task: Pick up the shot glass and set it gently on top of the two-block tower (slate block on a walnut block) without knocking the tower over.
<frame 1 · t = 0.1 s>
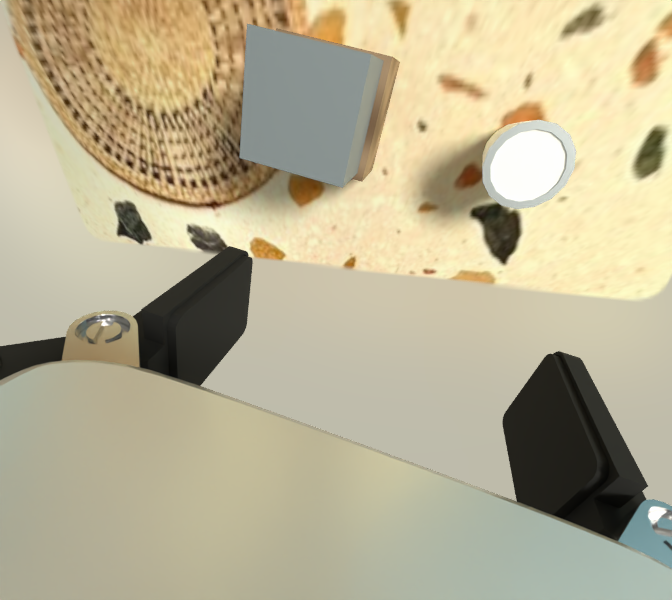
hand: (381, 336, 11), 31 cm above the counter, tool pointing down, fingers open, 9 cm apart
walnut base block: (338, 107, 37), on the counter, touching slate top block
shot glass: (512, 154, 35), on the counter
slate top block: (321, 108, 32), point 6 cm above the counter, touching walnut base block
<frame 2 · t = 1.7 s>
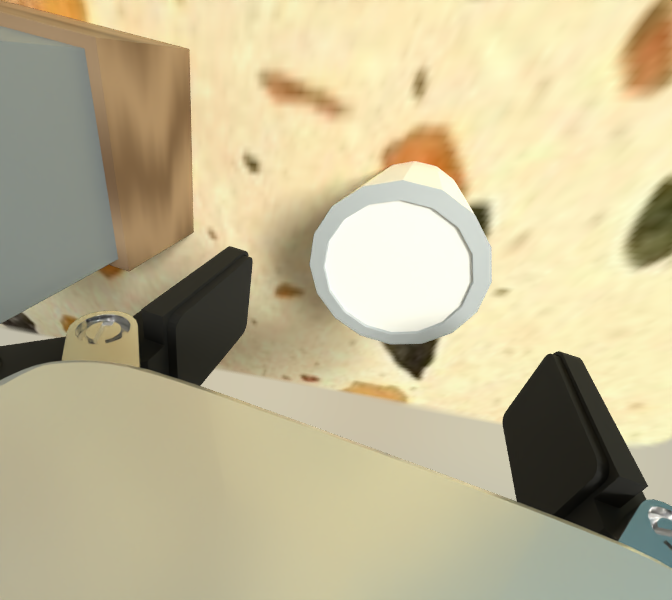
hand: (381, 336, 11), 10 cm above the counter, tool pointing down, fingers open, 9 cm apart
walnut base block: (117, 130, 21), on the counter, touching slate top block
shot glass: (409, 215, 19), on the counter
slate top block: (16, 143, 16), point 6 cm above the counter, touching walnut base block
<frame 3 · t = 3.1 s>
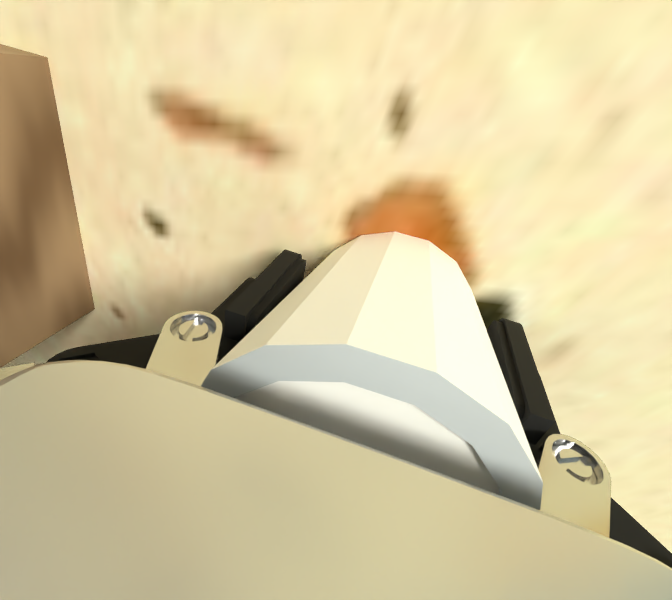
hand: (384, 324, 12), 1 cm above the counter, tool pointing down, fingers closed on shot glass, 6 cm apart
shot glass: (389, 304, 13), on the counter, touching gripper
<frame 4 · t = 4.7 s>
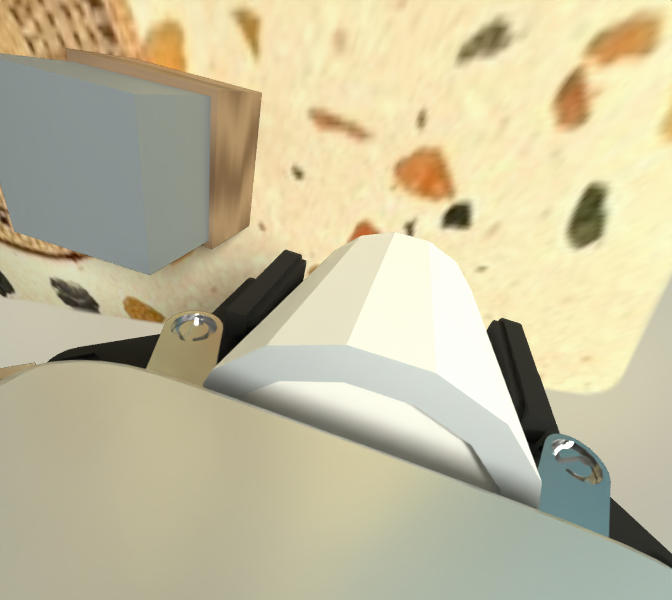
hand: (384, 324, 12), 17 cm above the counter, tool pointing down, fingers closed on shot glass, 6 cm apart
walnut base block: (198, 148, 28), on the counter, touching slate top block
shot glass: (389, 305, 13), point 15 cm above the counter, touching gripper
slate top block: (147, 158, 23), point 6 cm above the counter, touching walnut base block
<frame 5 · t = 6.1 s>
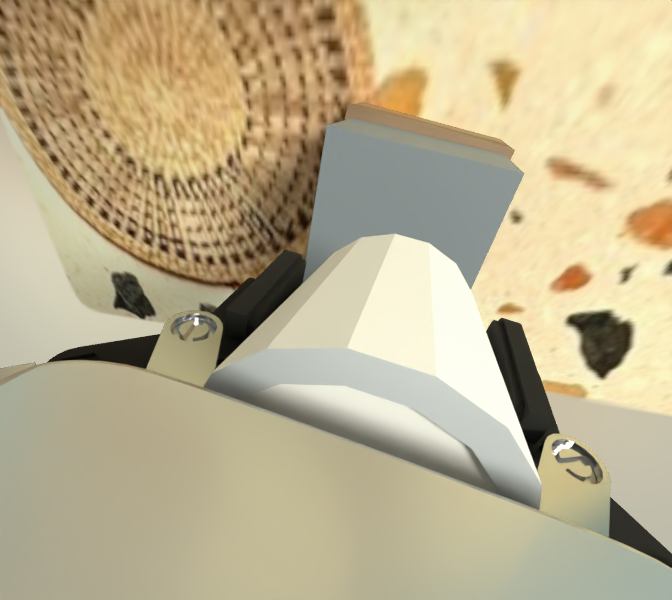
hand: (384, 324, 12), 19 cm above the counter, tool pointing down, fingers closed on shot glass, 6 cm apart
walnut base block: (409, 188, 28), on the counter
shot glass: (389, 306, 13), point 18 cm above the counter, touching gripper
slate top block: (404, 209, 23), point 6 cm above the counter
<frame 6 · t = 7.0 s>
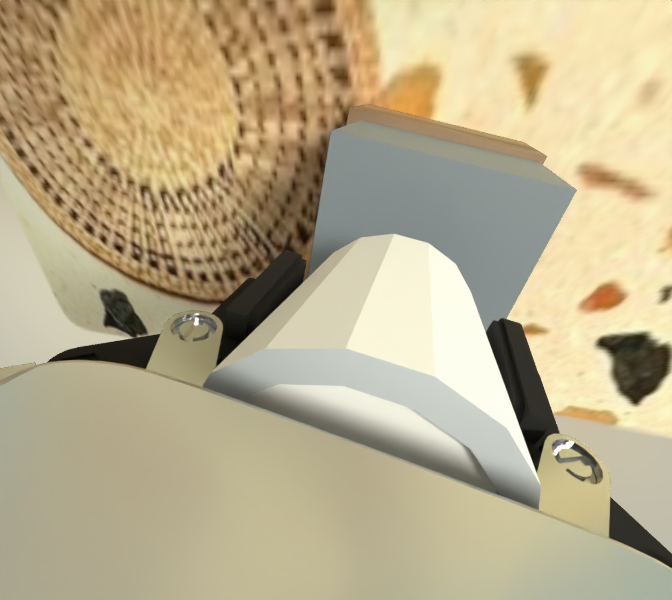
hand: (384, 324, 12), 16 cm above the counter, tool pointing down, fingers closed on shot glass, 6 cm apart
walnut base block: (419, 198, 25), on the counter, touching slate top block
shot glass: (389, 306, 13), point 15 cm above the counter, touching gripper
slate top block: (419, 224, 20), point 6 cm above the counter, touching walnut base block
when the fingers open (14 cm above the counter, at t = 7.9 s): shot glass drops 1 cm, resting on slate top block.
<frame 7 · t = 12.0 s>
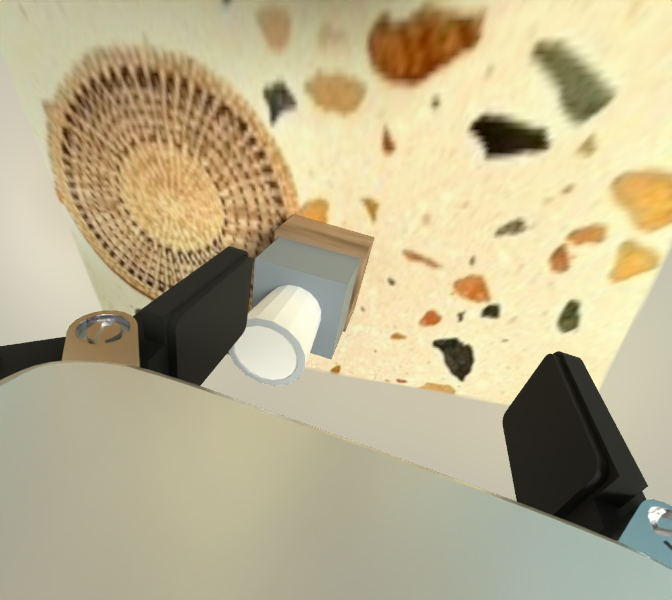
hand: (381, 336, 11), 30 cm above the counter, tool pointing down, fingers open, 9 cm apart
walnut base block: (326, 262, 45), on the counter, touching slate top block
shot glass: (294, 309, 35), point 12 cm above the counter, touching slate top block
slate top block: (313, 284, 40), point 6 cm above the counter, touching shot glass, walnut base block
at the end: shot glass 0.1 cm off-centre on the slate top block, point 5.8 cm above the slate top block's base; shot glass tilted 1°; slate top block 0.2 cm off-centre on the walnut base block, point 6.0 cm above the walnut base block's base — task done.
